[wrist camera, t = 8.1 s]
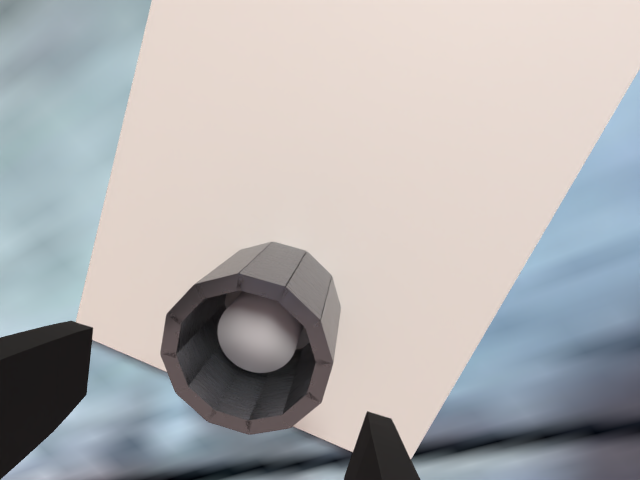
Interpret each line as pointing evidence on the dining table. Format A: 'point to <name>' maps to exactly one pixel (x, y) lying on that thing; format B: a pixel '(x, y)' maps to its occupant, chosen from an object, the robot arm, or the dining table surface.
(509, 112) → the board
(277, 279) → the steel tube
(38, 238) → the dining table surface
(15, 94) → the dining table surface
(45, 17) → the dining table surface
